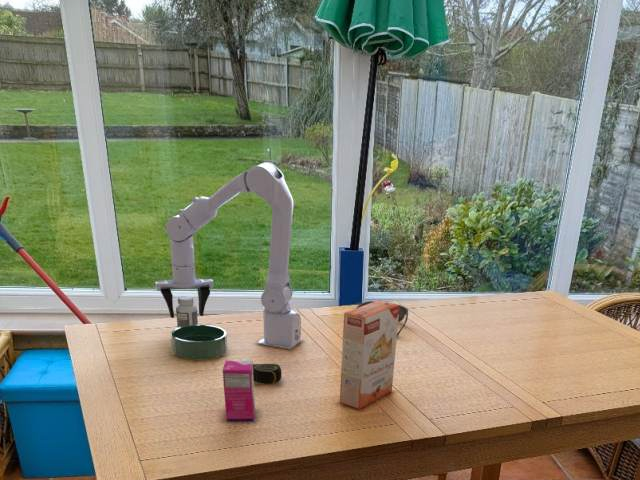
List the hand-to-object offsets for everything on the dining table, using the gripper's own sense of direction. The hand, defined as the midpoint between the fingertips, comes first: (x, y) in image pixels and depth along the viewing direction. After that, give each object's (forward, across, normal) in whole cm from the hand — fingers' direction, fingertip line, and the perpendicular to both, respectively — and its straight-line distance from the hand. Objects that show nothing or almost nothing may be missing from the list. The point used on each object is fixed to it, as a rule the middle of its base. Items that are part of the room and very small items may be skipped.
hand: (186, 315), depth 194 cm
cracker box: (+5, -30, +54) cm, 62 cm away
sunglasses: (+5, -54, +6) cm, 54 cm away
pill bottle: (+5, 0, 0) cm, 5 cm away
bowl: (+5, 0, +15) cm, 16 cm away
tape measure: (+5, -10, +38) cm, 39 cm away
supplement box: (+5, 0, +55) cm, 56 cm away
